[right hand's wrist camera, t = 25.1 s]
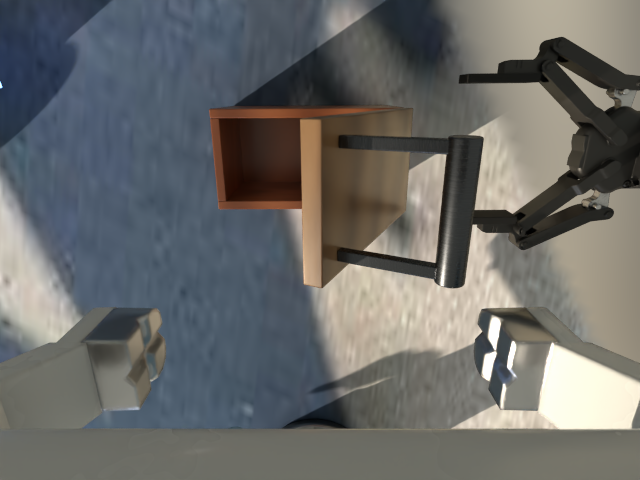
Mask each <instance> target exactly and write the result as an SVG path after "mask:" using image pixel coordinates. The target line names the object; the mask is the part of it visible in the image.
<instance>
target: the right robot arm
mask: <svg viewBox="0 0 640 480" xmlns="http://www.w3.org/2000/svg"><path fill="white" fill-rule="evenodd" d="M0 88H2V85H1V83H0ZM161 325H162V319H161V314H160V312H159V311H158V309H157V308H116V307H102V308H93V309H92V310H91V311H90V312H89V313H88V314H87V315H86V316H85V317H84V318H82V319H81V320H80V321H79V322H78V323H77V324H76V325H75V326H74V327H73V328H72V329H71V330H69V331H68V332H67V333H66V334H65V335H64V336H63V337H62V338H61V339H60V340H59V341H58V342H57V343H48V344H45V345H43V346H41V347H38V348H36V349H33V350H31V351H29V352H26V353H24V354H21V355H19V356H16V357H14V358H12V359H9V360H7V361H4V362H2V363H0V480H640V363H638V362H635V361H633V360H631V359H628V358H626V357H623V356H621V355H619V354H616V353H614V352H611V351H609V350H607V349H604V348H602V347H599V346H597V345H595V344H592V343H583V342H582V341H581V340H580V339H579V338H578V337H577V336H576V335H575V334H574V333H573V332H572V331H571V330H570V329H568V328H567V327H566V326H565V325H564V324H563V323H562V322H561V321H560V320H559V319H558V318H557V317H556V316H554V315H553V314H552V313H551V312H550V311H549V310H548V309H546V308H543V307H531V308H487V309H482V310H481V312H480V314H479V319H478V325H479V327H480V328H481V330H482V331H483V332H482V333H481V334H480V335H479V336H478V337H477V338H476V339H475V345H474V358H475V364H476V367H477V370H478V371H479V373H480V375H481V377H483V378H484V379H486V380H487V381H489V382H490V384H489V391H490V393H491V394H492V396H493V398H494V399H495V401H496V403H497V405H498V406H499V408H500V410H529V411H538V413H539V414H540V415H542V416H543V417H544V418H546V419H547V420H548V421H550V422H551V423H552V424H554V425H555V426H556V427H558V428H559V429H81V428H82V427H84V426H85V425H86V424H88V423H89V422H90V421H92V420H93V419H94V418H96V417H97V416H98V415H100V414H101V413H102V411H111V410H140V408H141V406H142V405H143V403H144V401H145V400H146V398H147V396H148V394H149V393H150V391H151V384H150V382H151V381H153V380H154V379H156V378H157V377H159V375H160V373H161V371H162V370H163V367H164V363H165V359H166V344H165V339H164V338H163V337H162V336H161V335H160V334H159V333H158V332H157V331H158V330H159V328H160V327H161Z"/></svg>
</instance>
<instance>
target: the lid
mask: <svg viewBox="0 0 640 480" xmlns="http://www.w3.org/2000/svg"><path fill="white" fill-rule="evenodd" d="M412 116H413V108H395V109H385V110H376V111H366V112H357V113H347V114H338V115H328V116H318V117H309V118H301V119H300V132H301V178H302V225H303V271H304V284H305V285H309V286H314V287H318V288H323V287H324V286H325V285H326V284H328V283H329V282H330V281H331V280H332V279H333V278H334V277H335V276H336V275H337V274H338V273H339V272H340V271H342V270H343V269H344V268H345V267H346V266H347V265H348V264H349V263H350V264H355V265H361V266H366V267H372V268H377V269H382V270H388V271H393V272H398V273H404V274H409V275H414V276H420V277H425V278H431V279H434V281H435V283H436V284H438V285H440V286H442V287H446V288H460V287H462V286H463V285H464V284H465V277H466V269H467V262H468V254H469V247H470V239H471V231H472V224H473V216H474V209H475V201H476V193H477V186H478V178H479V171H480V163H481V155H482V148H483V140H484V138H483V137H481V136H473V135H453V136H449V137H448V139H447V138H421V137H411V131H412ZM410 152H413V153H431V154H447V156H446V165H445V175H444V185H443V195H442V205H441V215H440V224H439V234H438V244H437V254H436V263H432V262H426V261H420V260H414V259H408V258H403V257H397V256H391V255H385V254H379V253H373V252H367V251H363V250H364V249H365V248H366V247H367V246H368V245H369V244H371V243H372V242H373V241H374V240H375V239H376V238H377V237H378V236H379V235H380V234H381V233H382V232H383V231H385V230H386V229H387V228H388V227H389V226H390V225H391V224H392V223H393V222H394V221H395V220H396V219H397V218H399V217H400V216H401V215H402V214H403V213H404V212H405V211H406V201H407V187H408V173H409V159H410Z"/></svg>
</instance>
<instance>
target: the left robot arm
mask: <svg viewBox="0 0 640 480" xmlns="http://www.w3.org/2000/svg"><path fill="white" fill-rule="evenodd" d="M539 50H540V52H539V54H538V55H537V57H536V58H535V59H534V60H508V61H504V62H501V63H499V66H498V73H497V74H465V75H460V76H459V84H461V83H531V82H539V83H540V84H541V85H542V86H543V87H544V88H545V89H546V90H547V91H548V92H549V93H550V94H551V95H552V96H553V98H554V99H555V100H556V101H557V102H558V103H559V104H560V105H561V106H562V107H563V108H564V109H565V110H566V111H567V112H568V113H569V114H570V116H571V117H570V118H571V119H572V120H573V122H574V123H575V124H576V125H577V126H578V127H579V130H578V131H577V133H576V134H573V137H572V151H571V153H570V155H569V157H568V162H567V165H569V167H570V170H569V171H567V172H566V173H565V174H563V175H562V176H561V177H559V178H558V181H557V182H556V183H555V184H554V185H552V186H551V187H549V188H548V189H547V190H545V191H544V192H542V193H541V194H540V195H538V196H537V197H536V198H534V199H533V200H531V201H530V202H529V203H527V204H526V205H525V206H523V207H522V208H520V209H519V210H518V211H516V212H515V213H514V214H511V213H510V212H508V211H507V210H474V216H473V224H477V227H478V228H479V229H480V230H481V231H483V232H486V233H509V237H508V238H509V241H510V242H512V243H513V244H514V245H516V246H517V247H518V248H520V249H521V250H526V249H528V248H530V247H533V246H535V245H537V244H540V243H542V242H544V241H547V240H549V239H551V238H553V237H556V236H558V235H560V234H562V233H565V232H567V231H569V230H572V229H574V228H576V227H579V226H581V225H583V224H586V223H588V222H590V221H597V220H606V219H610V218H611V217H612V216H613V214H614V211H613V209H611V208H609V207H608V203H609V195H610V192H613V191H615V190H617V189H621V188H640V111H636V110H634V109H633V108H631V106H632V103H633V100H634V97H635V94H636V91H637V90H640V76H635V75H626V74H624V73H622V72H620V71H619V70H617V69H616V68H614V67H612V66H611V65H609V64H607V63H606V62H604V61H602V60H601V59H599V58H597V57H596V56H594V55H592V54H591V53H589V52H587V51H586V50H584V49H582V48H581V47H579V46H577V45H576V44H574V43H573V42H571V41H569V40H567V39H566V38H564V37H558V38H555V39H550V40H546V41H544V42H542V43H541V45H540V48H539ZM556 62H557V63H559V64H560V65H562V66H564V67H565V68H567V69H569V70H571V71H572V72H574V73H575V74H577V75H579V76H581V77H582V78H584V79H586V80H587V81H589V82H591V83H592V84H594V85H596V86H598V87H600V88H603V89H608V90H607V91H606V94H607V95H608V96H609V97H610V98H612V99H614V101H615V106H613V107H611V108H609V109H607V110H606V111H603V110H602V109H600V108H598V107H596V106H595V105H594V104H593V103H592V101H591V100H590V99H589V98H588V97H587V96H586V95H585V94H584V93H583V92H582V91H581V89H580V88H579V87H578V86H577V85H576V84H575V83H574V82H573V81H572V80H571V79H570V78H569V76H568V75H567V74H566V73H565V72H564V71H563V70H562V69H561V68H560V67H559V65H558V64H557V63H556ZM578 179H580V180H578ZM590 189H592V190H594V194H593V195H592V196H591V197H590V198H587V199H583V200H582V204H577V205H574V206H571V207H568V208H566V209H564V210H562V211H560V212H557V213H555V214H553V215H550V214H551V213H553V212H554V211H555V210H557V209H558V208H560V207H561V206H563V205H564V204H565V203H567V202H568V201H570V200H571V199H572V198H574V197H575V196H577V195H581V194H584V193H586V192H587V191H588V190H590ZM548 215H550V216H548ZM547 216H548V217H547ZM473 224H472V225H473ZM228 429H243V428H240V427H231V428H228ZM282 429H346V428H345V427H343V426H341V425H339V424H337V423H334V422H331V421H326V420H320V419H308V420H302V421H297V422H294V423H291V424H289V425H287V426H285V427H284V428H282Z"/></svg>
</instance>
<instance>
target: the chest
mask: <svg viewBox="0 0 640 480" xmlns="http://www.w3.org/2000/svg"><path fill="white" fill-rule="evenodd" d="M395 108H402V107H395V106H388V105H335V106H230V107H221V108H213V109H209V111H210V118H211V119H210V121H211V132H212V142H213V152H214V163H215V173H216V184H217V194H218V205H219V209H302V178H301V132H300V119H301V118H309V117H318V116H328V115H338V114H347V113H357V112H366V111H376V110H385V109H395Z"/></svg>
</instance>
